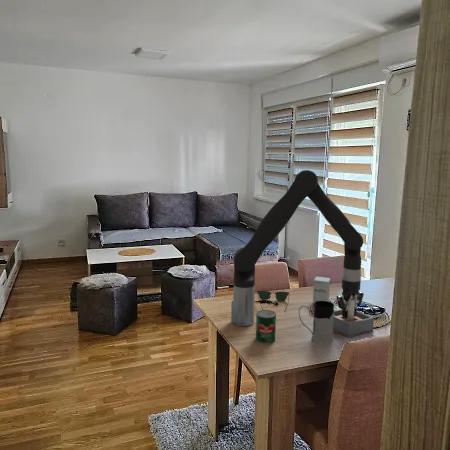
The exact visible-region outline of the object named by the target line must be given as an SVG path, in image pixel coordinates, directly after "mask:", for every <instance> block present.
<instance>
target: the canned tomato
mask: <svg viewBox="0 0 450 450" xmlns="http://www.w3.org/2000/svg"><path fill="white" fill-rule="evenodd" d="M255 320H256V321H255V342H257V343H259V344H264V345H268V344H271V345H272V344H274V343H275V341H276V333H277V332H276V329H277V327H276V325H277V313H276V312H275V311H274V310H270V309H263V310H262V309H261V310H258V311H257V312H256V315H255Z"/></svg>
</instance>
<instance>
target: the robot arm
mask: <svg viewBox="0 0 450 450" xmlns="http://www.w3.org/2000/svg"><path fill="white" fill-rule="evenodd" d="M306 198H308V199H309V200H310V201H311V202H312V203H313V205H315V207H316V208H317V209H318V211H319V212H320V213H321V214H322V216H323V217H324V219H325V220H326V222H328V224H329V225H330V226H331V227H332V229H333V230H334V231H335V232H336V233H337V234H338V236H339V237H340V239H341V240H342V242H343V244H344V247H343V249H344V255H343V267H342V274H341V289H342V291H341V292H342V293H341V294H340V295H336V301H337V306H338V309H342V317H343V318H345V319H347V318H348V307H349V305H350V303H351V299H352V297H355V307H354V317H355V315H356V310H357V308H359V307H361V304H362V302H363V298H364V295H365V293H364V292H362V291H360V290H361V284H362V283H361V282H362V270H361V269H362V256H361V255H362V254H361V249H362V247H363V246H364V245H363V244H364V238H363V236H362V234H361V233H360V232H359V231H358V230H356V227H354V226H353V225H352V224H351V222H350V220H349V218H348V217H347V216H346V215H345V214H344V212H342V210H341V208H339V207H338V205H336V203H335V202H333V200H331V199H330V197H329V196H328V195H327V194H326V193H325V191H324V190H323V189H322V187H321V185H320V184H319V179H318V176H317V174H316V173H315V172H314V171H312V170H310V169H304V170H303V169H302V170H301V171H299V172H298V173H297V174H296V175H295V178H294V179H293V182H292V184H291V185H290V186H289V188H288V189H287V191H286V192H285V194H284V195H283V196H281V198H280V199H279V200H278V201H277V202H276V203H275V204H274V205H273V206H272V207H271V208H270V209H269V210H268V212H266V215H265V216H264V217H263V218H262V219H261V221H260V223H259V224H258V226H257V228H256V230H255V231H254V233H253V236H252V237H251V239H250V240H249V241H248V242H247V243H246V244H245V246H244V247H240V248H239V249H237V250H236V252H235V253H234V256H233V298H232V299H233V300H232V301H231V308H230V309H231V312H230V314H231V315H230V318H231V319H230V321H231V323H233V324H234V325H236V326H237V327H249V326H253V324H254V323H255V293H256V292H255V290H256V289H255V286H256V285H255V284H256V283H255V282H256V264H257V262H258V260H259V259H260V257H261V256H262V255H263V253H264V251H265V250H266V249H268V246H270V245H271V243H272V242H273V241H274V240H275V239H276V238H277V237H278V235H279V234H280V233H281V232H282V231H283V230H284V228H285V227H286V226H287V224H288V223H289V221H290V220H291V218H292V217H293V215H294V214H295V213H296V211H297V209H298V208H299V206H300V205H301V203H302V202H303V201H304V200H305V199H306ZM345 301H346V302H348V303H346V302H345ZM345 304H346V307H345Z"/></svg>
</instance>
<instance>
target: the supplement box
mask: <svg viewBox="0 0 450 450" xmlns="http://www.w3.org/2000/svg"><path fill="white" fill-rule="evenodd" d="M330 288H331V277H325V276H324V277H323V276H315V278H314V279H313V289H312V290H313V293H312V304H313V305H315V302H316V301H328V302H330V301H329V300H330V290H331V289H330Z"/></svg>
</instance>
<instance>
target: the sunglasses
mask: <svg viewBox="0 0 450 450" xmlns="http://www.w3.org/2000/svg"><path fill="white" fill-rule="evenodd" d="M256 293H257V297H258V302H259V305H260V306H261V310H264V308H263V305H262V304H261V299H269V300H270V299H271V295H272V294H275V299H276V301H279V302H284V301H286V300H287V299H288V301H287V304H286V305H285V309H284V311H283V312H284V313H286V310H287V307H288V305H289V302H290V301H289V300H290V297H289V295H290V292H288V291H276V292H270V291H268V290H258V291H256ZM280 300H281V301H280Z"/></svg>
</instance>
